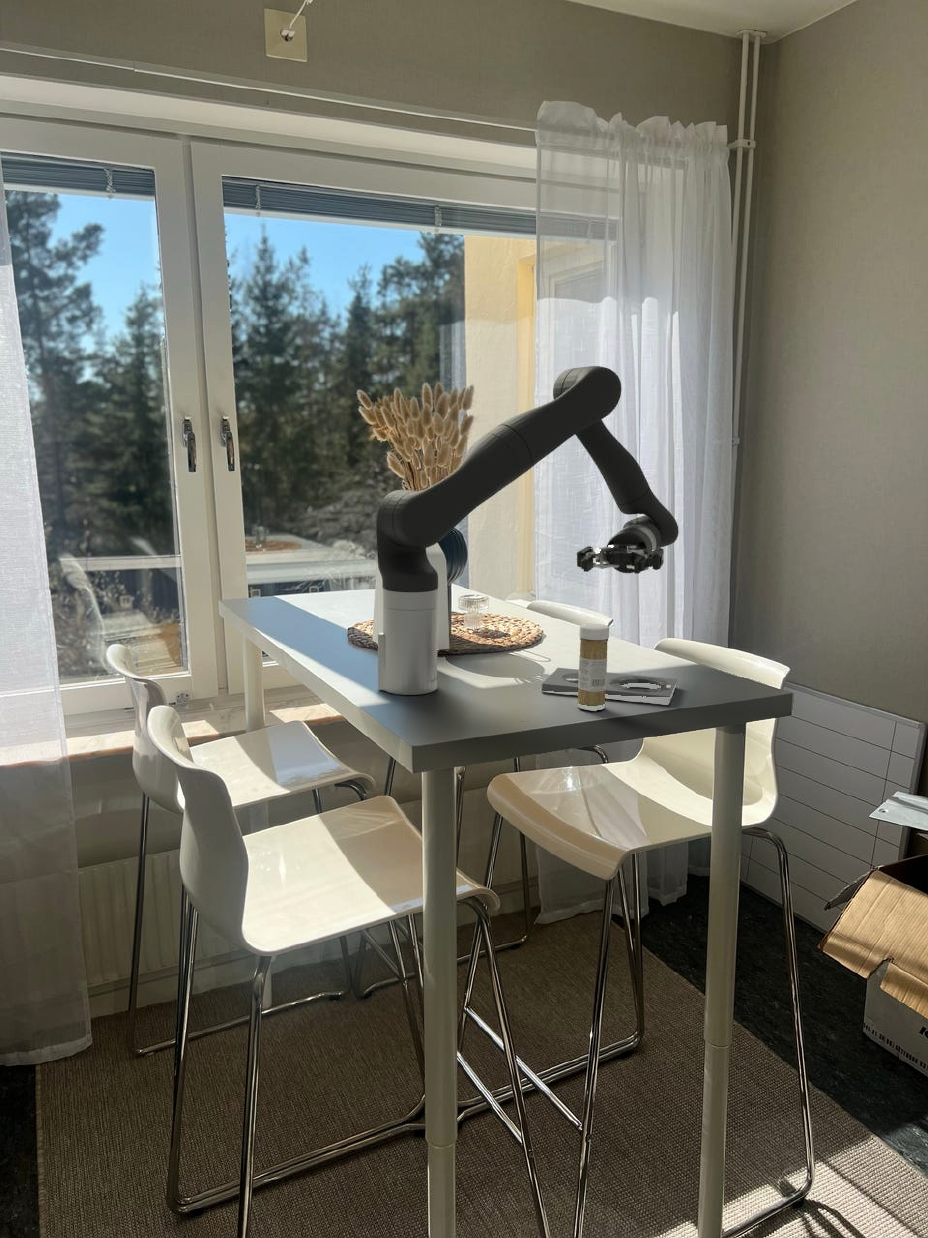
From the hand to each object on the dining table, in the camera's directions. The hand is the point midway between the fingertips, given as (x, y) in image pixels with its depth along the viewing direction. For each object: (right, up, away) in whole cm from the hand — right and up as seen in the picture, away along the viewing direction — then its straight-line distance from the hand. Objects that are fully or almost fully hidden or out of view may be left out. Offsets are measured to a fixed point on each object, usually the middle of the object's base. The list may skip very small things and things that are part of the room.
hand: (610, 566), depth 150 cm
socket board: (+1, -21, +6) cm, 22 cm away
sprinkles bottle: (-4, -23, -5) cm, 24 cm away
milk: (-35, -15, +36) cm, 52 cm away
